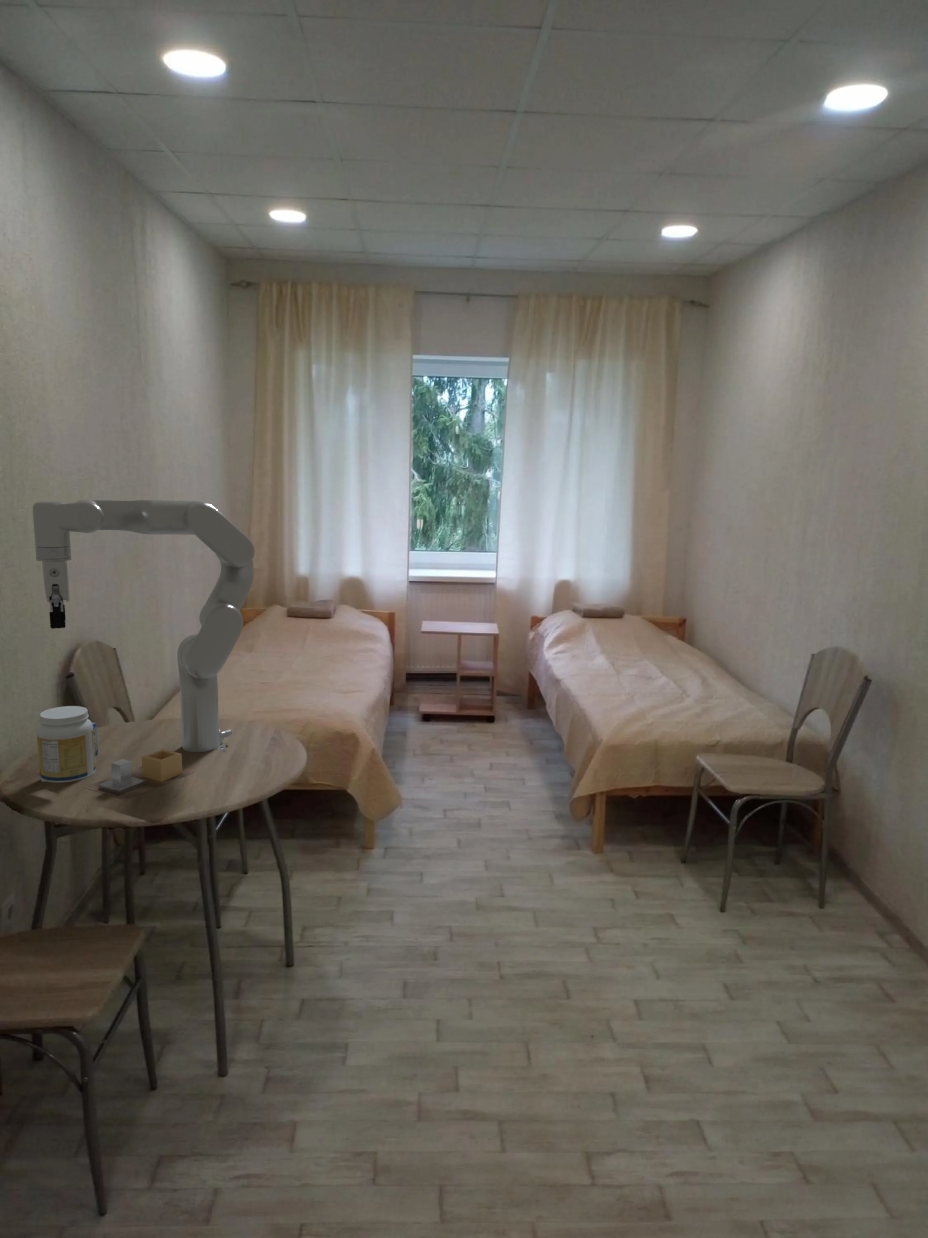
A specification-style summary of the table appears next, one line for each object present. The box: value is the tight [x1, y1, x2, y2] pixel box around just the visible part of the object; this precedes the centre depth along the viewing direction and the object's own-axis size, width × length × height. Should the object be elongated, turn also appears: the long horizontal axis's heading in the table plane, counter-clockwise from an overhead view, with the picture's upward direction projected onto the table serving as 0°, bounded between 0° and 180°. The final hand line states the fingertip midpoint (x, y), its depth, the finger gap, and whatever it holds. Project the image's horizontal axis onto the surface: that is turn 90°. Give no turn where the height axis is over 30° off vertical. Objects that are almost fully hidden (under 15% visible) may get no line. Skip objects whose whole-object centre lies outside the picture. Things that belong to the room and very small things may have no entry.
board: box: [83, 765, 194, 801], centre depth 196 cm, size 20×14×2 cm
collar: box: [141, 748, 183, 782], centre depth 199 cm, size 6×6×5 cm
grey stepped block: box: [99, 758, 146, 795], centre depth 191 cm, size 7×7×6 cm
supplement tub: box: [36, 705, 97, 784], centre depth 198 cm, size 12×12×17 cm
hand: (58, 624), depth 199 cm, fingers open, 9 cm apart
